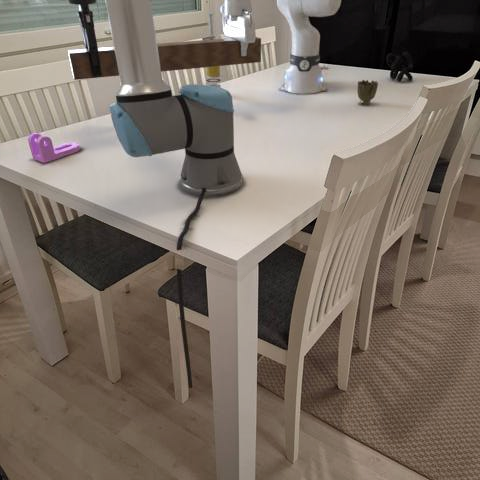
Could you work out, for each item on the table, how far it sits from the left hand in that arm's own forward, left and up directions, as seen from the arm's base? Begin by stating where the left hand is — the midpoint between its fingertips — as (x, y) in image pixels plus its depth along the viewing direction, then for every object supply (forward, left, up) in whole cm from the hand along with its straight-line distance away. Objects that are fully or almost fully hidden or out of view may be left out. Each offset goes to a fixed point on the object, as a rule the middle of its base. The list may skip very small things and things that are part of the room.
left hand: (96, 74), depth 138 cm
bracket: (-23, +1, -18) cm, 29 cm away
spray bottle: (+107, -44, -18) cm, 117 cm away
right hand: (+32, -36, +2) cm, 48 cm away
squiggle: (+99, -88, -18) cm, 134 cm away
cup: (+55, -77, -18) cm, 97 cm away
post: (+16, -18, -1) cm, 24 cm away
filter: (+51, -17, -18) cm, 57 cm away
